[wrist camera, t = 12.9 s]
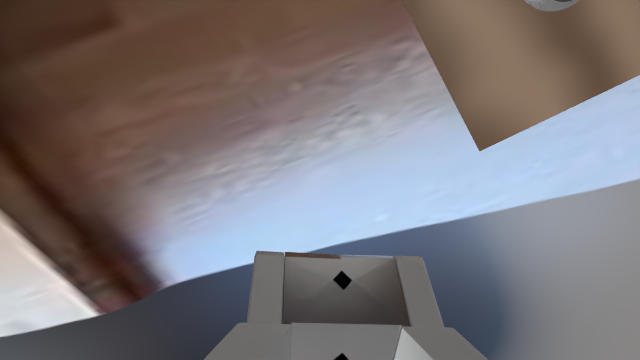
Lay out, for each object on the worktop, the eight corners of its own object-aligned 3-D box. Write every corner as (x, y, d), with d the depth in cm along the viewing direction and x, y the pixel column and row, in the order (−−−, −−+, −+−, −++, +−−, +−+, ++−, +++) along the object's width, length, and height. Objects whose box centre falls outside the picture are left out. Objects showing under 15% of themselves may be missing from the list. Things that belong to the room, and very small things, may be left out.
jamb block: (460, 115, 36) (484, 161, 31) (385, -34, 30) (399, -6, 25) (647, 20, 32) (709, 56, 27) (602, -172, 26) (672, -173, 21)
